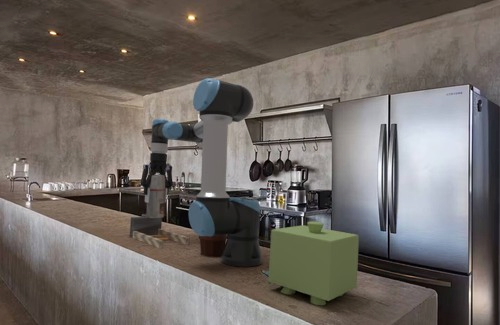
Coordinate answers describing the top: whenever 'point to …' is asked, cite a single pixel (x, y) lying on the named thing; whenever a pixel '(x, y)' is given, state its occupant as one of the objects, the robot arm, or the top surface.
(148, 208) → the grey cylinder
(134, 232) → the track
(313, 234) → the container
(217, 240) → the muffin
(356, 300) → the top surface
